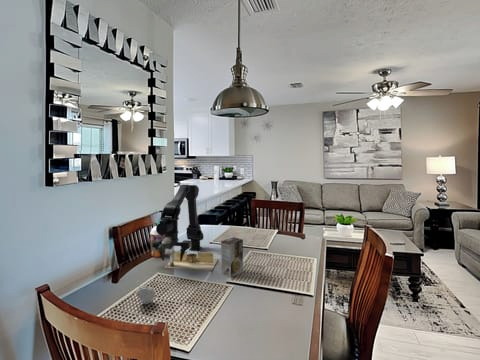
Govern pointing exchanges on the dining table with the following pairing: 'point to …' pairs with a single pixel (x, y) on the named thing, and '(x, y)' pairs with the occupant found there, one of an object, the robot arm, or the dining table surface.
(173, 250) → the pin
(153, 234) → the smoothie
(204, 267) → the mount board
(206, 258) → the loose leaf
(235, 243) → the coffee box
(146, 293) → the grey head sculpture
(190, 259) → the hinge base
